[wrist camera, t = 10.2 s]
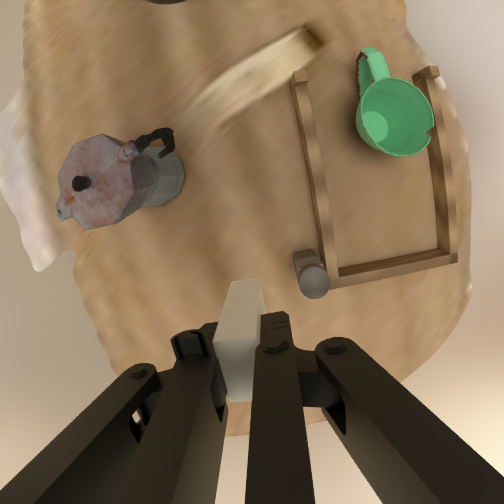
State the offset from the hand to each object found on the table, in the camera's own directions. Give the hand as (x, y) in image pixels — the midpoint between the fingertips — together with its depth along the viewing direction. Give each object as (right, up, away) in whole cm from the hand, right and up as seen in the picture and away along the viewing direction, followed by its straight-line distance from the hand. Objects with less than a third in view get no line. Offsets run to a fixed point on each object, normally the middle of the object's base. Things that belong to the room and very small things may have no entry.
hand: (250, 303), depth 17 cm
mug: (+17, +23, +24) cm, 37 cm away
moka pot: (-14, +14, +28) cm, 34 cm away
